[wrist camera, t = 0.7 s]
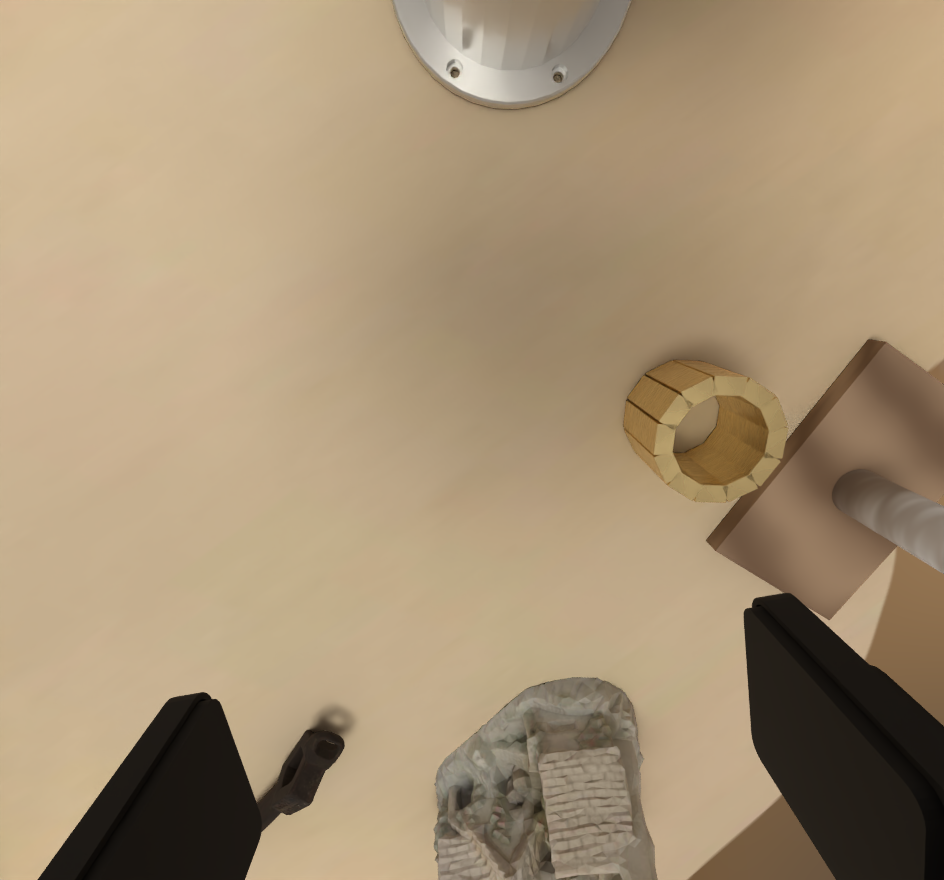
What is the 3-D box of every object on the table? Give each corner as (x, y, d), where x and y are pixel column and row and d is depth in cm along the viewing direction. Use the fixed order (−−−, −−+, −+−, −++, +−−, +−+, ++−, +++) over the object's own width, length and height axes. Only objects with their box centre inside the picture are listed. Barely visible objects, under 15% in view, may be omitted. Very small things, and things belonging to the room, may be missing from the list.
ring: (669, 338, 34) (710, 350, 28) (756, 397, 35) (813, 421, 30) (602, 432, 36) (629, 461, 30) (688, 486, 37) (729, 524, 31)
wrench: (100, 879, 49) (303, 681, 41) (152, 903, 50) (358, 716, 42) (59, 951, 44) (280, 744, 36) (118, 976, 45) (343, 781, 37)
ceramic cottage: (654, 681, 41) (733, 906, 27) (620, 842, 46) (671, 1102, 32) (443, 661, 42) (411, 871, 27) (433, 822, 47) (401, 1070, 32)
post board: (868, 339, 34) (1025, 363, 25) (982, 422, 36) (1171, 474, 26) (706, 540, 38) (787, 628, 28) (816, 607, 40) (928, 713, 30)
